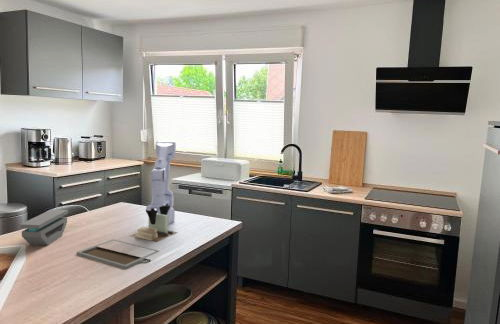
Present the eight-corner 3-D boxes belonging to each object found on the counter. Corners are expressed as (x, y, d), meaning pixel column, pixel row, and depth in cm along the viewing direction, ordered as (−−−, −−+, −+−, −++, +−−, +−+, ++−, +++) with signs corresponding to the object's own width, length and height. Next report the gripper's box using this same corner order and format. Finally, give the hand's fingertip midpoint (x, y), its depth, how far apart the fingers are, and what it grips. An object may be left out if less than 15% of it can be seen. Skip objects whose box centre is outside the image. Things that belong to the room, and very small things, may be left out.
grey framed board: (113, 239, 171) (165, 252, 157) (113, 242, 171) (165, 255, 157) (76, 252, 154) (131, 267, 140) (76, 255, 154) (131, 272, 140)
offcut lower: (142, 234, 179) (142, 230, 179) (157, 237, 175) (157, 233, 175) (135, 236, 175) (135, 232, 175) (150, 240, 171) (150, 235, 171)
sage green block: (151, 230, 185) (151, 212, 184) (167, 233, 181) (168, 215, 180) (148, 231, 184) (148, 213, 182) (165, 234, 179) (165, 216, 178)
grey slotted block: (52, 231, 182) (51, 209, 180) (68, 232, 182) (68, 209, 180) (20, 250, 157) (19, 224, 156) (39, 250, 157) (38, 225, 156)
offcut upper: (142, 230, 178) (142, 226, 177) (156, 233, 175) (156, 228, 175) (137, 233, 174) (137, 229, 174) (151, 235, 171) (151, 231, 171)
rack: (151, 229, 190) (151, 224, 190) (178, 234, 183) (178, 230, 183) (128, 238, 176) (128, 233, 176) (156, 244, 169) (156, 239, 169)
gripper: (154, 197, 172) (154, 227, 173) (174, 192, 185) (174, 219, 186) (142, 196, 175) (142, 224, 176) (162, 191, 188) (162, 217, 189)
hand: (158, 222), depth 182 cm, fingers open, 7 cm apart
